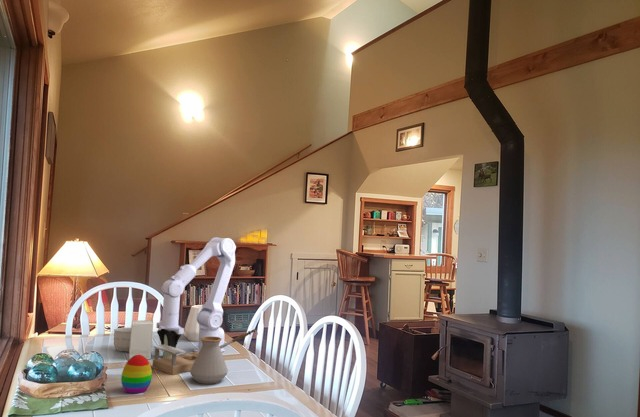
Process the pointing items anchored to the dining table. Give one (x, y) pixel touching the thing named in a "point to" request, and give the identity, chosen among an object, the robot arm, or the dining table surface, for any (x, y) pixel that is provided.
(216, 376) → the coffee pot
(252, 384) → the dining table surface
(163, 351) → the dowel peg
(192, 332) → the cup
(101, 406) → the dining table surface
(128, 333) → the teacup
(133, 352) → the supplement box
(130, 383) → the decorative egg
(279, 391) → the dining table surface
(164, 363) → the socket board
